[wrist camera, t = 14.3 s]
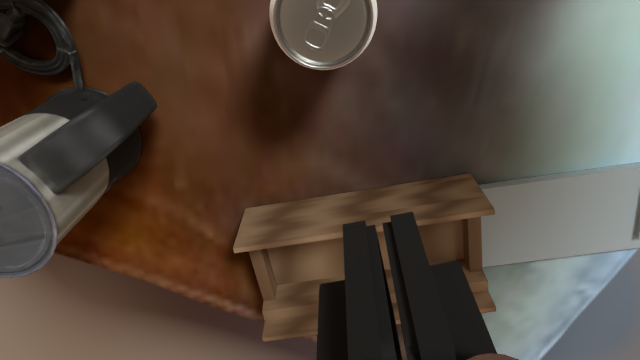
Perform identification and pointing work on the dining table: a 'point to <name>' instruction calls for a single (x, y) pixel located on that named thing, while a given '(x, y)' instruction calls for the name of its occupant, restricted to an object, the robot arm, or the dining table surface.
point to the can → (323, 30)
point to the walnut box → (328, 253)
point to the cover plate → (562, 215)
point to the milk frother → (59, 146)
